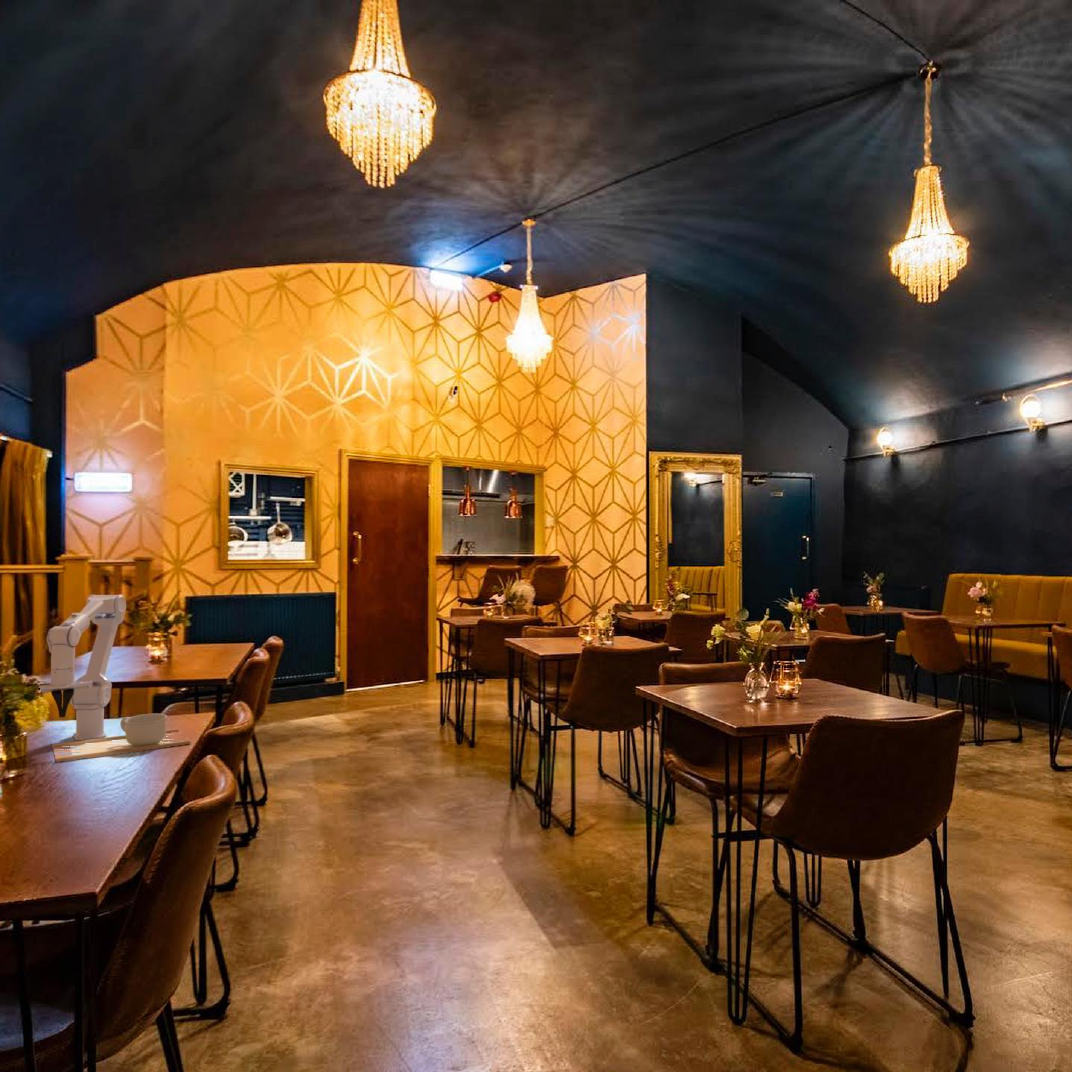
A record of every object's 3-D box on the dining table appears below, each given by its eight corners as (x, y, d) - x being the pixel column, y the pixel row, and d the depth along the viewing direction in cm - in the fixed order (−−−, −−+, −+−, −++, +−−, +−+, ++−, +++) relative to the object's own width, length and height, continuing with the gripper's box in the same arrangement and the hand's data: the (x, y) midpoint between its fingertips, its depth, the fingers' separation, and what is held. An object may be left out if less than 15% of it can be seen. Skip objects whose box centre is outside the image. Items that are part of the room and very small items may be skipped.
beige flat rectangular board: (52, 747, 215) (52, 744, 215) (177, 731, 234) (177, 728, 234) (56, 762, 200) (56, 758, 200) (190, 744, 219) (190, 740, 219)
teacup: (174, 742, 220) (175, 715, 220) (140, 751, 210) (141, 722, 210) (143, 737, 226) (143, 711, 226) (108, 746, 216) (109, 718, 216)
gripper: (32, 672, 206) (31, 722, 205) (93, 668, 214) (93, 715, 214) (31, 669, 211) (31, 717, 211) (91, 665, 220) (90, 711, 219)
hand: (62, 716), depth 213 cm, fingers closed
